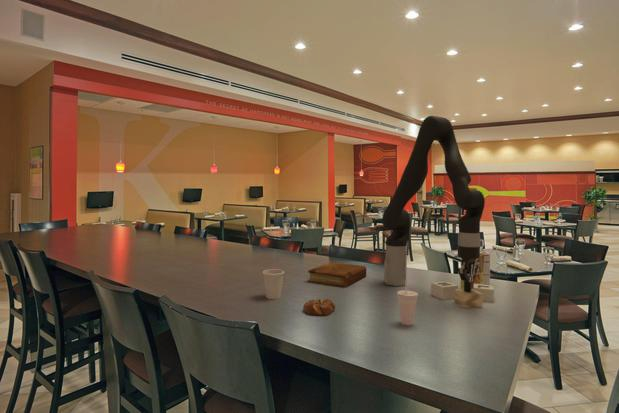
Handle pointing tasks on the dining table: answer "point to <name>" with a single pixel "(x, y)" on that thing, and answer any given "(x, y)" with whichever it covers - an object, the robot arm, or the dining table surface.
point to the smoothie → (407, 305)
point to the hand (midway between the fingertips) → (467, 291)
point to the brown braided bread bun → (319, 307)
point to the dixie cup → (273, 283)
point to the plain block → (468, 298)
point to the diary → (337, 274)
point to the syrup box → (486, 268)
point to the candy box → (479, 273)
